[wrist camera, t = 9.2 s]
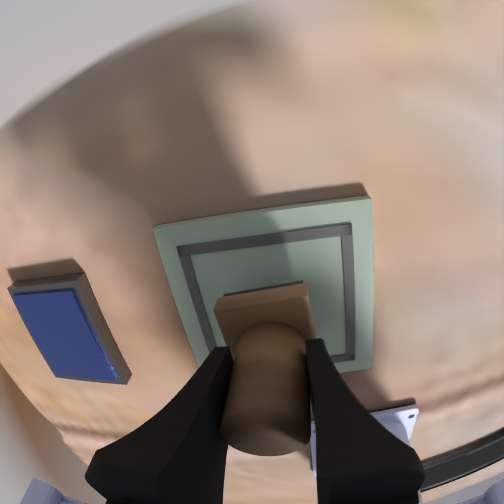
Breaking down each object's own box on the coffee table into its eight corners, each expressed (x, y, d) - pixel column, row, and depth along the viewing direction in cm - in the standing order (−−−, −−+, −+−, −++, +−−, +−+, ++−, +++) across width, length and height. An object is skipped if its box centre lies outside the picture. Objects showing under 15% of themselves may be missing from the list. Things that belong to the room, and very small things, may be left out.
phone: (521, 449, 22) (412, 495, 25) (518, 442, 23) (410, 487, 26) (540, 414, 19) (415, 470, 22) (536, 407, 20) (413, 462, 23)
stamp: (320, 358, 15) (329, 461, 10) (247, 368, 16) (231, 467, 11) (305, 276, 14) (314, 382, 8) (219, 291, 14) (185, 394, 9)
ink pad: (132, 374, 20) (125, 386, 19) (61, 369, 21) (54, 378, 20) (84, 272, 17) (74, 282, 16) (15, 281, 18) (5, 289, 17)
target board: (369, 361, 18) (371, 369, 17) (206, 375, 19) (204, 383, 19) (368, 195, 14) (372, 199, 13) (156, 225, 15) (151, 230, 15)
